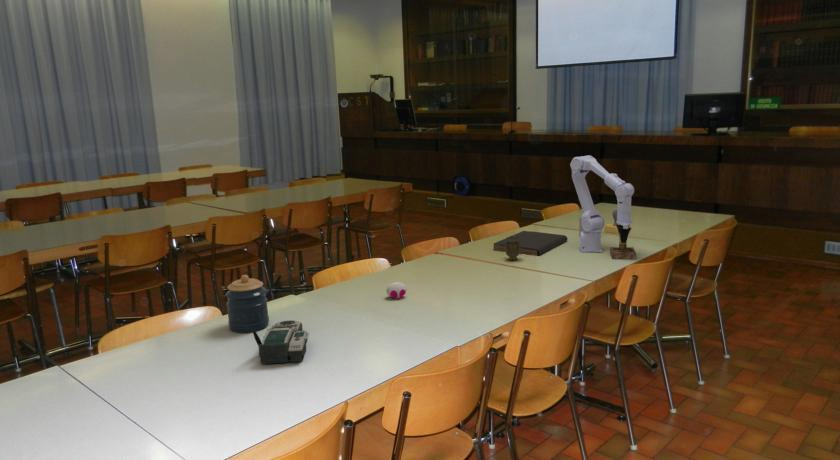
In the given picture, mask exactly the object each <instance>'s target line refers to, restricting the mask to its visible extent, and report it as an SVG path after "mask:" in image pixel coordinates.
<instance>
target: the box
mask: <svg viewBox="0 0 840 460" xmlns="http://www.w3.org/2000/svg"><path fill="white" fill-rule="evenodd" d="M609 255H610V257H611V259H612V260H637V252H636V250H635V248H634V247H632V246H630V247H629V246H627V248H626V249H620V248H619V246H610V247H609Z"/></svg>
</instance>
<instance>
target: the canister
mask: <svg viewBox="0 0 840 460" xmlns="http://www.w3.org/2000/svg"><path fill="white" fill-rule="evenodd" d="M227 289H228V291H226V293H225V297H226V298H227V302H226V307H227V309H226V310H227V317H228V318H227V319H228V322H227V323H228V328H229V329H230V331H232V332H234V333H243V334H245V333H253V330H255V331H256V332H258V331H261V330H263V329H265V328H268V326H269V323H270V316H269V310H268V297H266V293H267V288H266V287H264V282H263V281H261V280H259V279H258V278H257V279H256V278H253V277H251V278H249V275H247V274H242V275H241V277H240V278H239V279H236V280H234V281H232V282H231V283H230V284H229V285H227Z"/></svg>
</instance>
